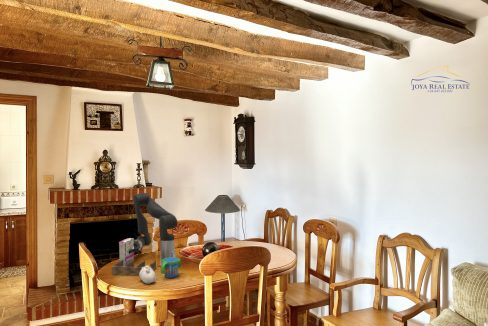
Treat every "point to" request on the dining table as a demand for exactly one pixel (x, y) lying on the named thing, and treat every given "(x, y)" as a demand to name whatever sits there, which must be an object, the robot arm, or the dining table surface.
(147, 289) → the dining table surface
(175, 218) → the robot arm
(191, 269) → the dining table surface
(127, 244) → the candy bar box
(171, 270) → the snack cup
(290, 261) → the dining table surface
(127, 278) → the dining table surface
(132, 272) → the walnut rack
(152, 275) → the white spotted figurine
